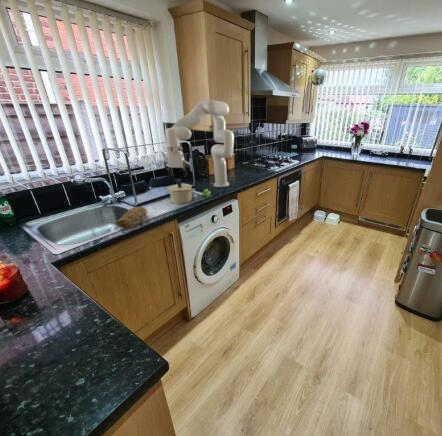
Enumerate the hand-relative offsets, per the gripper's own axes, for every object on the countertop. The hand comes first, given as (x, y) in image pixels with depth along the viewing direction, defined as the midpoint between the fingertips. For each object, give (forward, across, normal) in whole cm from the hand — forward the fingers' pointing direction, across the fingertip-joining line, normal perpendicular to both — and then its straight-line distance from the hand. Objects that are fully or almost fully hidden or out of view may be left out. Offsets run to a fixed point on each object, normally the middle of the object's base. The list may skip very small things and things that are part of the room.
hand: (178, 176), depth 158 cm
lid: (+8, 0, 0) cm, 8 cm away
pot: (+16, 0, 0) cm, 16 cm away
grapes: (+16, -14, -9) cm, 23 cm away
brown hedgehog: (+17, +12, +36) cm, 41 cm away
